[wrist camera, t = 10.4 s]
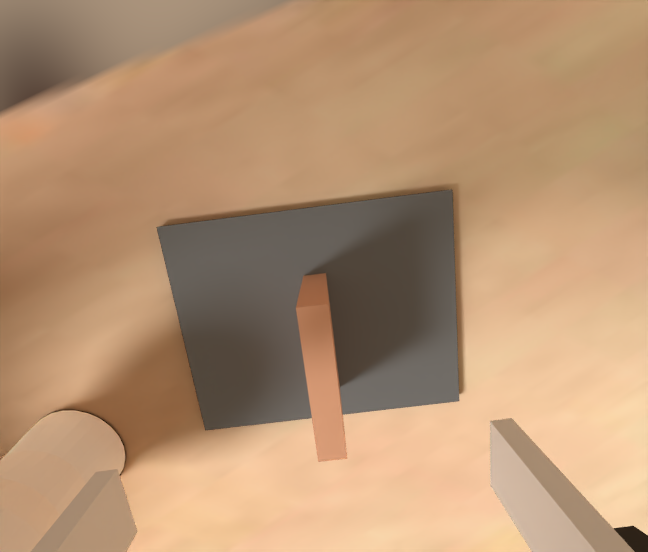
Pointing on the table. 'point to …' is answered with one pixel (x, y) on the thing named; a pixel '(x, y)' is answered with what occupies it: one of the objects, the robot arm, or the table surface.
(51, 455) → the cup
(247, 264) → the mat
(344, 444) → the slab
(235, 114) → the table surface
